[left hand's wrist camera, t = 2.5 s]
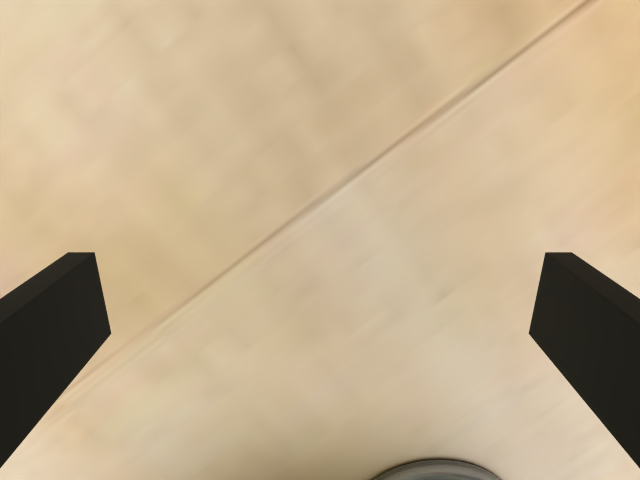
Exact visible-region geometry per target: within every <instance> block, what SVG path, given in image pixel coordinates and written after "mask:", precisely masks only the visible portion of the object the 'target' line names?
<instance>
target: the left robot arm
mask: <svg viewBox="0 0 640 480" xmlns="http://www.w3.org/2000/svg"><path fill="white" fill-rule="evenodd" d="M110 334H111V330H110V325H109V320H108V316H107V311H106V306H105V301H104V296H103V291H102V286H101V282H100V277H99V272H98V267H97V262H96V257H95V252H68V253H67V254H65V255H64V256H62V257H61V258H59V259H58V260H56V261H55V262H54V263H52V264H51V265H49V266H48V267H46V268H45V269H43V270H42V271H40V272H39V273H37V274H36V275H35V276H33V277H32V278H30V279H29V280H27V281H26V282H24V283H23V284H21V285H20V286H18V287H17V288H16V289H14V290H13V291H11V292H10V293H8V294H7V295H5V296H4V297H2V298H1V299H0V468H1V467H2V465H3V464H4V463H5V462H6V461H7V459H8V458H9V457H10V456H11V455H12V453H13V452H14V451H15V450H16V448H17V447H18V446H19V445H20V444H21V442H22V441H23V440H24V439H25V438H26V436H27V435H28V434H29V433H30V431H31V430H32V429H33V428H34V427H35V425H36V424H37V423H38V422H39V421H40V419H41V418H42V417H43V416H44V415H45V413H46V412H47V411H48V410H49V408H50V407H51V406H52V405H53V404H54V402H55V401H56V400H57V399H58V398H59V396H60V395H61V394H62V393H63V391H64V390H65V389H66V388H67V387H68V385H69V384H70V383H71V382H72V381H73V379H74V378H75V377H76V376H77V374H78V373H79V372H80V371H81V370H82V368H83V367H84V366H85V365H86V364H87V362H88V361H89V360H90V359H91V357H92V356H93V355H94V354H95V353H96V351H97V350H98V349H99V348H100V347H101V345H102V344H103V343H104V342H105V340H106V339H107V338H108V337H109V336H110ZM529 334H530V336H531V337H532V338H533V339H534V340H535V342H536V343H537V344H538V345H539V347H540V348H541V349H542V350H543V351H544V353H545V354H546V355H547V356H548V357H549V359H550V360H551V361H552V362H553V364H554V365H555V366H556V367H557V368H558V370H559V371H560V372H561V373H562V374H563V376H564V377H565V378H566V379H567V381H568V382H569V383H570V384H571V385H572V387H573V388H574V389H575V390H576V391H577V393H578V394H579V395H580V396H581V398H582V399H583V400H584V401H585V402H586V404H587V405H588V406H589V407H590V408H591V410H592V411H593V412H594V413H595V415H596V416H597V417H598V418H599V419H600V421H601V422H602V423H603V424H604V425H605V427H606V428H607V429H608V430H609V431H610V433H611V434H612V435H613V436H614V438H615V439H616V440H617V441H618V442H619V444H620V445H621V446H622V447H623V448H624V450H625V451H626V452H627V453H628V455H629V456H630V457H631V458H632V459H633V461H634V462H635V463H636V464H637V465H638V467H639V468H640V299H639V298H638V297H636V296H635V295H633V294H632V293H630V292H629V291H627V290H626V289H624V288H623V287H622V286H620V285H619V284H617V283H616V282H614V281H613V280H611V279H610V278H608V277H607V276H605V275H604V274H603V273H601V272H600V271H598V270H597V269H595V268H594V267H592V266H591V265H589V264H588V263H586V262H585V261H584V260H582V259H581V258H579V257H578V256H576V255H575V254H573V253H572V252H545V257H544V262H543V267H542V272H541V277H540V282H539V286H538V291H537V296H536V301H535V306H534V311H533V316H532V320H531V325H530V330H529ZM374 480H500V479H499V478H498V477H496V476H495V475H494V474H492V473H490V472H489V471H487V470H485V469H483V468H480V467H478V466H475V465H472V464H468V463H464V462H459V461H452V460H427V461H419V462H414V463H410V464H406V465H403V466H400V467H397V468H394V469H392V470H389V471H387V472H385V473H383V474H381V475H380V476H378V477H377V478H375V479H374Z"/></svg>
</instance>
